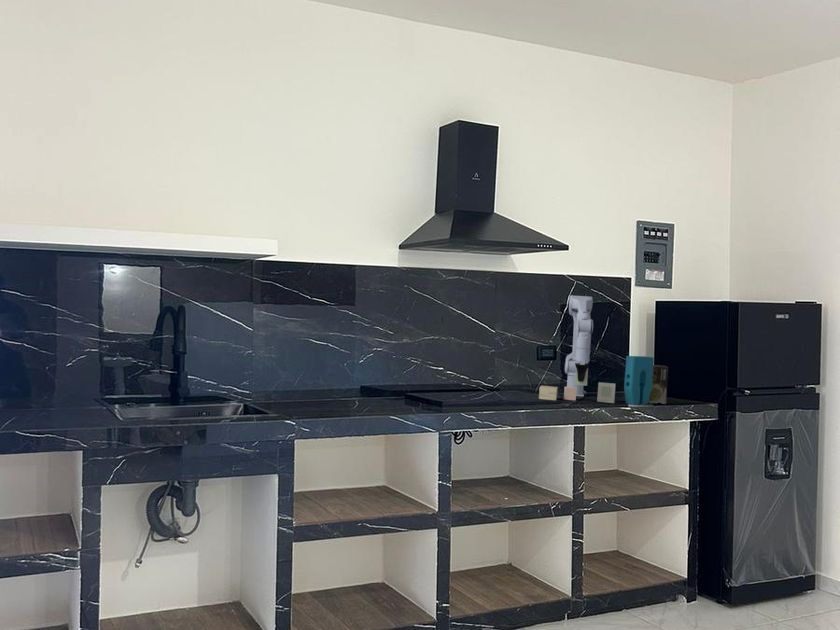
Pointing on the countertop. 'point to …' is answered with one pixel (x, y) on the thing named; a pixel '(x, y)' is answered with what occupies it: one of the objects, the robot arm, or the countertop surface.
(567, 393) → the pink cube
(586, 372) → the sage cube
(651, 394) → the coffee box
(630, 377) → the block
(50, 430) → the countertop surface
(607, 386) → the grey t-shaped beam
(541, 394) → the base block
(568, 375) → the robot arm
